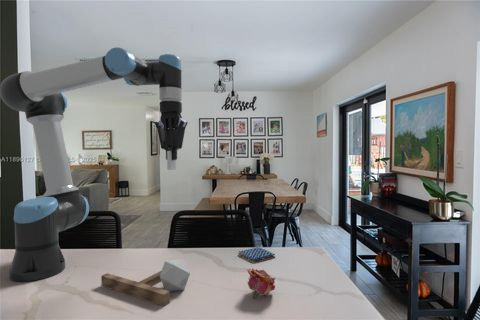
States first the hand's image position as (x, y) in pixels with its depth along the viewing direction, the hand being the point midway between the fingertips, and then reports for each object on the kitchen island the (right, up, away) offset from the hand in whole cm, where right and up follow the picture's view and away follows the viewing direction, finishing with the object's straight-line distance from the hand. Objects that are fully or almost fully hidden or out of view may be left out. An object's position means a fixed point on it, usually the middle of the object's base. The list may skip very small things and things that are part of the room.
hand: (171, 169), depth 107 cm
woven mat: (+30, -33, +6) cm, 45 cm away
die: (+5, -33, -20) cm, 39 cm away
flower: (+30, -34, -24) cm, 51 cm away
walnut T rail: (-2, -33, -17) cm, 37 cm away
